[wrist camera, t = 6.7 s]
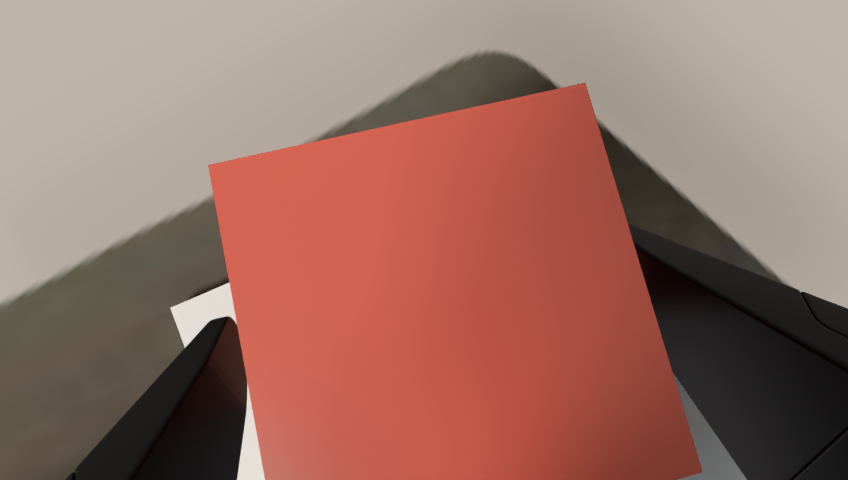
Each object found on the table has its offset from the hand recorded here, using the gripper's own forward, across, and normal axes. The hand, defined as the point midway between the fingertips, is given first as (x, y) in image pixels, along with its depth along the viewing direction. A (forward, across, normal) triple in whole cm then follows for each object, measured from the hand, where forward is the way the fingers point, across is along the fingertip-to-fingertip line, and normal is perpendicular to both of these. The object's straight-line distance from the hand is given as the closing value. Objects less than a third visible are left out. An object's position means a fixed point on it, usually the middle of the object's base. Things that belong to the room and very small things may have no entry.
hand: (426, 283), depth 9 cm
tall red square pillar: (+6, 0, +6) cm, 8 cm away
